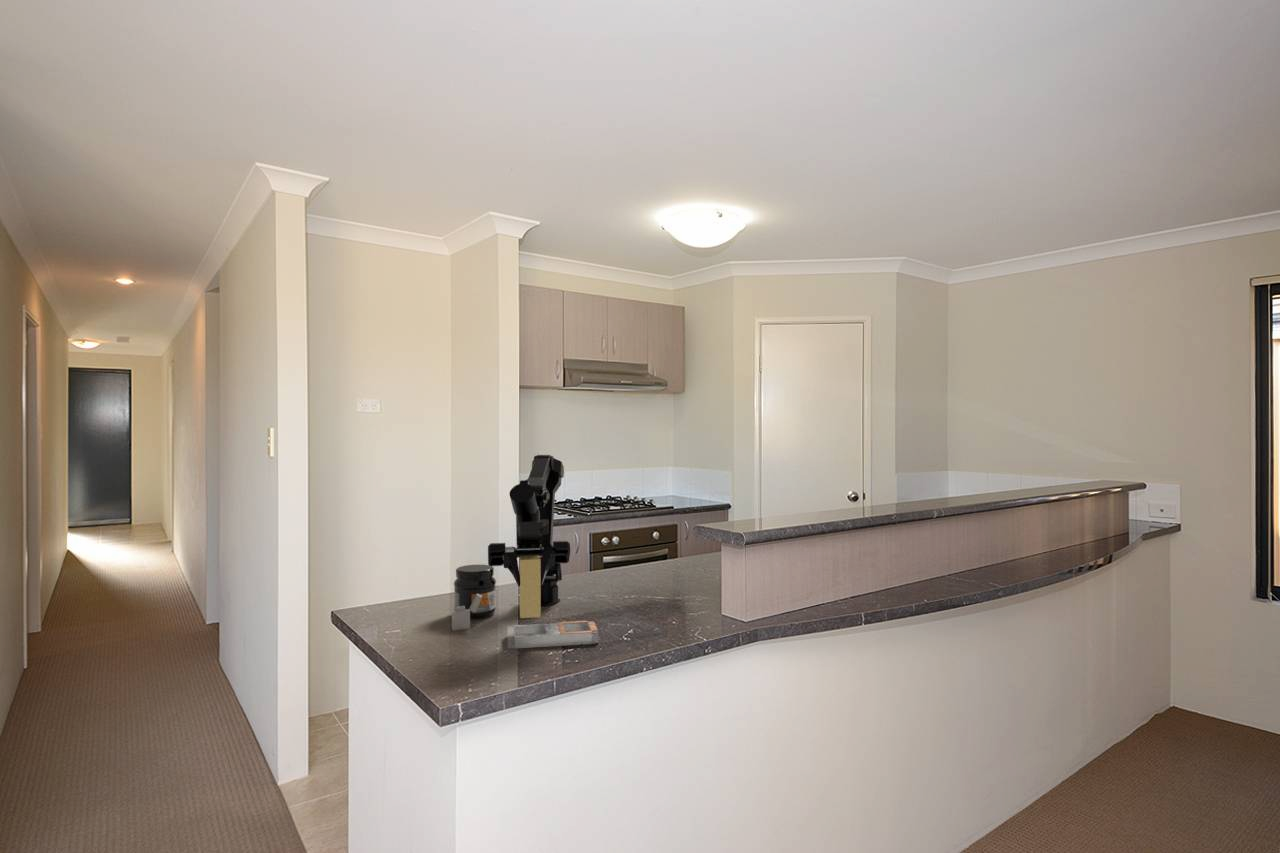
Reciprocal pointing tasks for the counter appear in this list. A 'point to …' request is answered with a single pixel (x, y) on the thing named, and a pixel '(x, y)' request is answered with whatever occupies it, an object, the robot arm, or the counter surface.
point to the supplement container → (475, 589)
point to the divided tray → (552, 634)
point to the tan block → (530, 586)
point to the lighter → (464, 614)
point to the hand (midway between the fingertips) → (530, 584)
